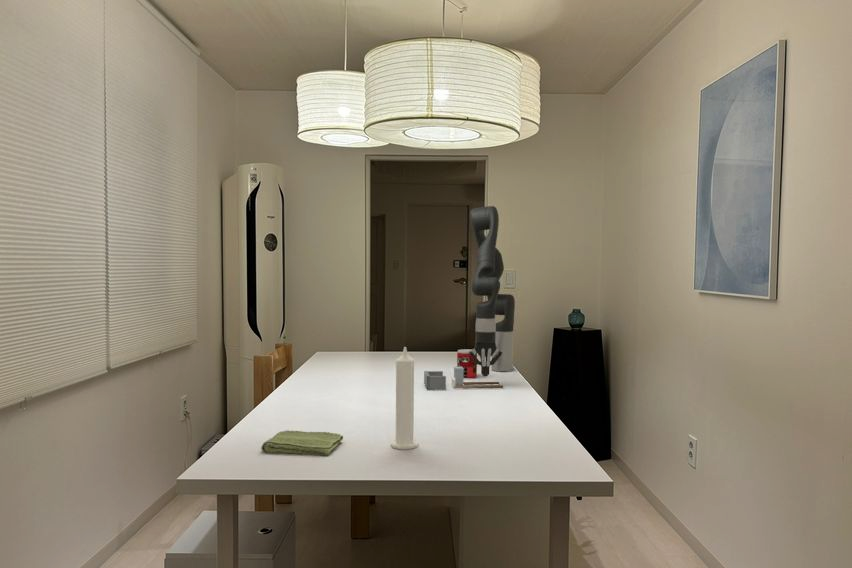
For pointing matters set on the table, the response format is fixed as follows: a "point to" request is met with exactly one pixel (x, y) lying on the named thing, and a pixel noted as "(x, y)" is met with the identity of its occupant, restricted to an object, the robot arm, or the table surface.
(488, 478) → the table surface
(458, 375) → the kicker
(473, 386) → the pair of wooden rails
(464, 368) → the canned food
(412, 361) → the candle
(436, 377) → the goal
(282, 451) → the washcloth
